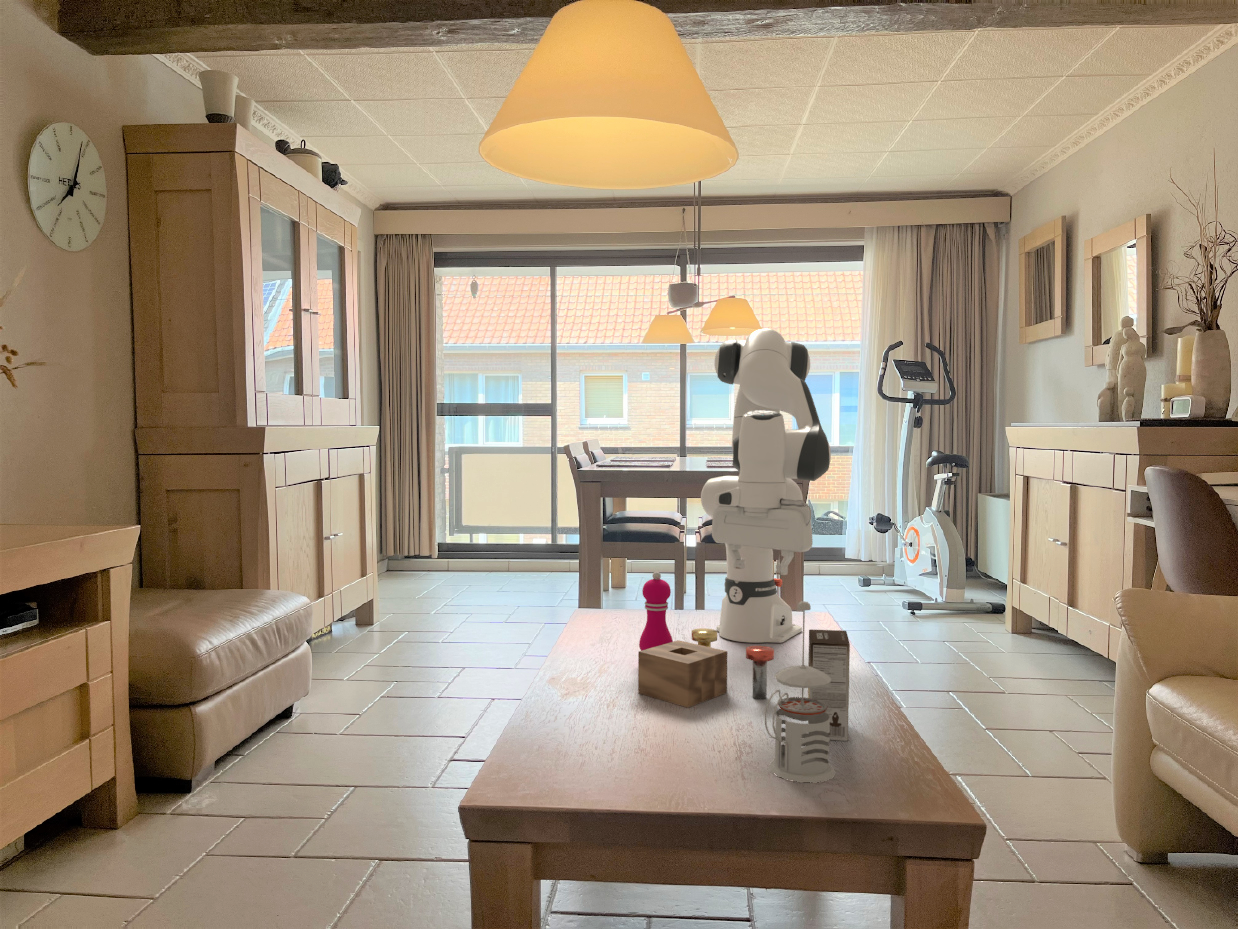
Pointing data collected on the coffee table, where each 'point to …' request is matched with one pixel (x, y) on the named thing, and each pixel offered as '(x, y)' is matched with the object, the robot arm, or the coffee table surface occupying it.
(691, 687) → the hitch block
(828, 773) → the french press
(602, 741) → the coffee table surface
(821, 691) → the coffee box
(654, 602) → the pepper mill
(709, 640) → the brass pin
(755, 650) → the red round-headed grey cylinder
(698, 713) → the coffee table surface
